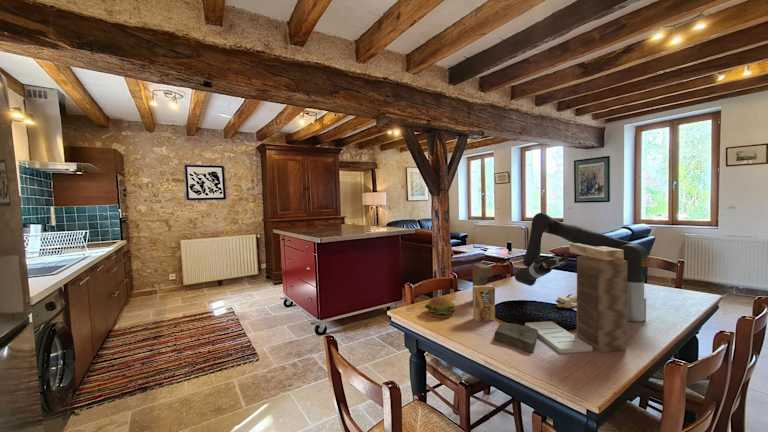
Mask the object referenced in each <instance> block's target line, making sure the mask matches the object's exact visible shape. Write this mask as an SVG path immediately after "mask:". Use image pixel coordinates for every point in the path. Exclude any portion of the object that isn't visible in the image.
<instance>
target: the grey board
mask: <svg viewBox="0 0 768 432" xmlns="http://www.w3.org/2000/svg"><path fill="white" fill-rule="evenodd" d="M524 326H527V327H530V328H534V329H537V330H538V336H537V338H539V339H541V340H542V341H544V342H545V343H546V344H548V345H549V346H550V347H551V348H553V350H555V351H557V353H559V354H567V353H568V354H570V353H584V352H585V353H586V352H593V347H592V346H590V345H588V344H587V343H585V342H584V341H582V340H581V339H579V338H577V335H574V334H573V333H571V332H569V331H568V330H566V329H564V328H563V327H561V326H559V324H557V323H555V322H554V321H552V320H551V321H550V320H549V321H534V322H525V323H524Z"/></svg>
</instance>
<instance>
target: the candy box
mask: <svg viewBox="0 0 768 432" xmlns="http://www.w3.org/2000/svg"><path fill="white" fill-rule="evenodd" d="M495 293H496V287H495V286H494V285H490V284H489V285H488V284H487V285H482V286H473V285H472V309H473V312H472V313H473V314H472V316H473V317H472V318H473V319H474V321H475V322H484V321H487V322H488V321H496V301H495V300H496V297H495V296H496V295H495Z"/></svg>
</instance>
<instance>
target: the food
mask: <svg viewBox="0 0 768 432" xmlns="http://www.w3.org/2000/svg"><path fill="white" fill-rule="evenodd" d="M424 308H425V309H427V310H428V315H430V316H431V317H432V318H437V319H446V318H450V317H452V316H453V315H454V313H455V310H456V304H455V303H453V302H452V300H451V299H450V298H448V297H445V296H436V297H432V298H431V299H430V300H429V301H428V302H426V303H425V304H424Z"/></svg>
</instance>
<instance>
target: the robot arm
mask: <svg viewBox="0 0 768 432" xmlns="http://www.w3.org/2000/svg"><path fill="white" fill-rule="evenodd" d="M544 233H545V234H549V235H554V236H556V237H560V238H562V239H563V240H566V241H568V242H569V243H570V242H571V244H572V243H579V244H584V245H589V246H594V247H600V246H605V247H610V248H615V249H621V250H624V259H623V260H624V261H627V322H635V323H640V322H643V321H646V320H647V298H646V297H645V275H644V274H643V270H642V263H644V262H645V261H646V260H647V259H648V257H649V254H648V251H647V249H646V248H645V247H644V246H643V245H641V244H639V243H634V242H630V241H625V240H621V239H618V238H615V237H611V236H610V235H607V234H604V233H601V232H599V231H596V230H593V229H590V228H587V227H585V226H580V225H575V224H567V223H564V222H562V221H559V220H556V219H554V218H553V217H551V216H549V215H548V214H546V213H544V212H539V213H536V214H534V216H533V217H532V222H531V226H530V233H529V240H528V245H527V248H526V252H525V254H524V258H523V260H522V264H523V265H524V266H525V267H522V268H519V269H517V270H516V272H515V273H514V279H515V281H516V282H518V283H520V284H523V285H526V286H530V287H532V286H534V285H535V284H536V282H537V279H539V278H541V277H544V276H546V275H547V274H549V273H551V272H552V271H553V268H554V267H562V266H564V265H566V264H568V260H569V257H568V255H567V254H564V255H562V256H560V257H554V258H550V255H546V256H543V257H541V252H542V251H541V250H542V249H541V248H542V238H543V234H544ZM540 257H541V258H540Z"/></svg>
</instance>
